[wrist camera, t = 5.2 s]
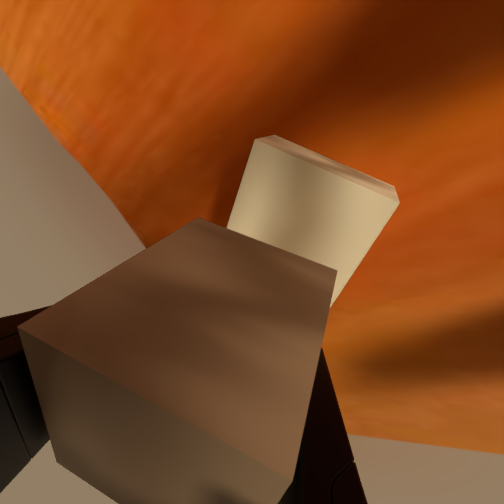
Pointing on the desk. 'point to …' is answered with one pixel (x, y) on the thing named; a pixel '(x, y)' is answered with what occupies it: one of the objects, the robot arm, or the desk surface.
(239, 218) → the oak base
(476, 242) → the desk surface
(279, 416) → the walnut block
